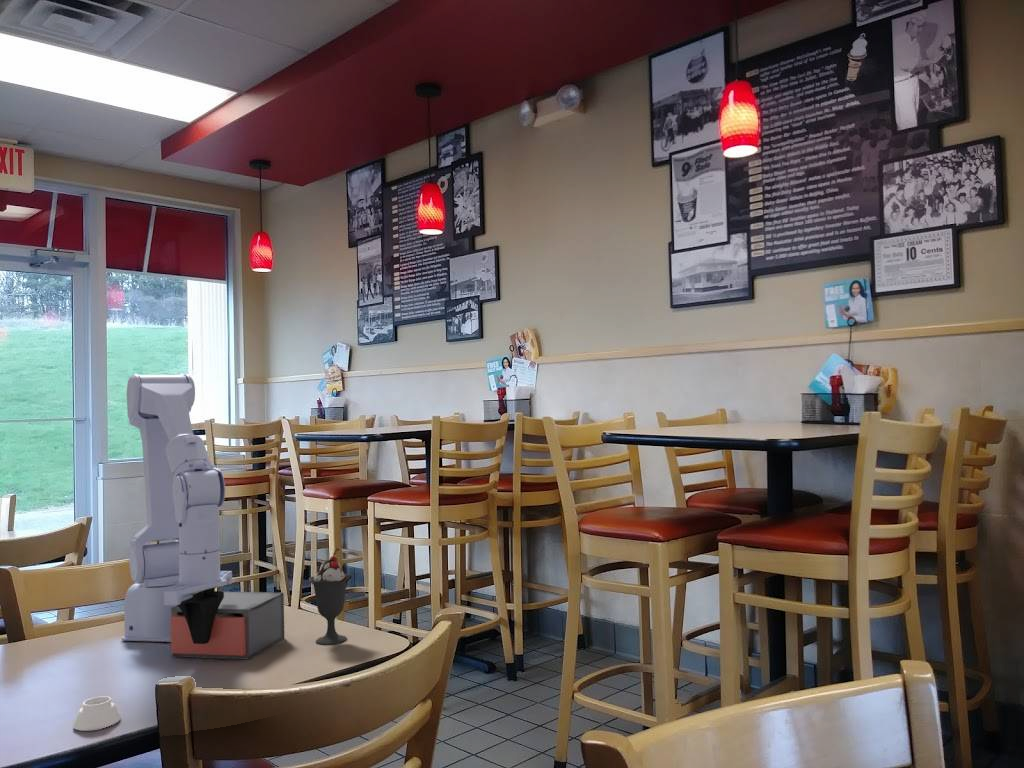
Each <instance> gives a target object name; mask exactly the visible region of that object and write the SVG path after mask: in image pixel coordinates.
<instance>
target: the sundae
mask: <svg viewBox="0 0 1024 768" xmlns="http://www.w3.org/2000/svg"><path fill="white" fill-rule="evenodd" d="M339 551H340V548H339V547H336V549H335V550H334V552H333V555H332V556H330V557H329V559H327V560H325V561H324V562H319V563H318V566H317V572H316V574H315V575H314V576H310V577H309V578H308V581H309V583H310V584H312V585H313V589H314V594H315V595H314V596H315V600H316V601H315V602H316V607H317V611H318V614H320V616H321V617H323V618H324V619H326V621H327V626H326V627H327V630H326V633H325V634H324V636H321V637H318V638H317V639H316V640H315V643H316V644H317V645H322V646H332V645H337V644H338V643H339V644H342V643H344V642H346V641H347V640H348V637H347V636H345V635H342V634H339V633H337V631H336V627H335V626H336V625H335V621H336V618H337V617H339V616H340V615H341V613H342V612H343V610H344V608H345V607H344V606H345V601H346V590H347V585H348V582H349V581H350V580H351V579H352V575H351V574H345V572H344V570H343V568H342V566H341V564H340V562H338V557H337V556H336V554H337V552H339Z"/></svg>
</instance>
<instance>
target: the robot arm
mask: <svg viewBox="0 0 1024 768" xmlns="http://www.w3.org/2000/svg"><path fill="white" fill-rule="evenodd" d="M126 385H127V386H126V410H127V418H128V421H129V423H128V424H129V425H131V426H133V427H135V428H137V429H138V430H139V433H140V438H141V442H142V443H141V444H142V445H141V446H142V460H143V461H142V463H143V474H144V477H143V478H144V490H145V492H144V493H145V506H146V520H147V521H146V526H144V527H143V528H142V529H140V531H138V532H137V533H136V534H135V535H134V536H133V537H132V538H131V540H130V544H129V546H130V552H129V553H130V554H129V559H128V560H129V565H128V566H129V573H130V577H131V578H130V579H131V580H132V581H133V582H134V583H133V584H132V585H130V586H129V587H128V589H127V591H126V594H125V597H124V603H123V605H124V608H123V611H124V620H123V621H124V635H123V636H122V637H121V641H125V642H126V641H128V642H129V641H130V642H132V641H133V642H156V643H157V642H160V643H161V642H162V643H164V642H166V643H171V608H172V607H175V606H177V605H178V607H179V608H180V609H181V611H182V613H183V615H184V616H185V619H186V621H187V624H188V627H189V630H190V633H191V637H192V640H193V643H194V644H206V643H208V642H209V640H210V636H211V631H212V627H213V623H214V619H215V616H216V613H217V610H218V608H219V605H220V603H221V602H222V600H223V598H224V592H225V591H222V590H221V591H220V590H216V589H218V588H220V587H221V588H222V587H224V586H226V585H231V584H233V571H232V570H221V539H220V538H221V536H220V534H221V532H220V530H221V528H220V507H222V506H223V505H224V502H225V499H226V483H225V478H224V474H223V472H222V470H221V469H220V468H218V467H217V465H215V464H212V462H211V461H210V458H209V454H208V451H207V448H206V446H205V443H204V440H203V439H202V437H200V436H199V435H196V434H194V432H193V426H192V422H191V417H190V413H191V411H192V407H193V406H194V403H195V399H196V387H195V382H194V379H193V377H191V375H190V374H187V373H186V374H139V373H133V374H131V376H130V377H129V378H128V380H127V384H126ZM171 540H173V541H171ZM174 540H176V541H174ZM161 541H162V543H154V542H161ZM164 541H169V542H164ZM147 543H154V544H147Z"/></svg>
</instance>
